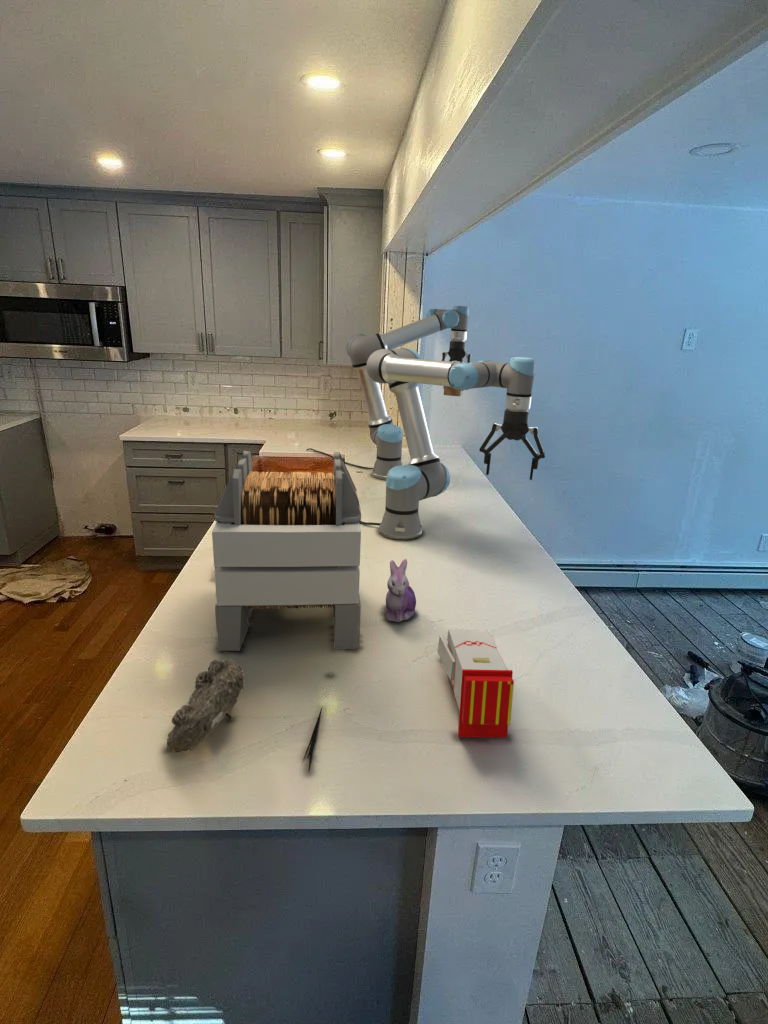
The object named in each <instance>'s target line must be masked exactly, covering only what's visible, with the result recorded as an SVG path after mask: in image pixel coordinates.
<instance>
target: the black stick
mask: <svg viewBox="0 0 768 1024" xmlns="http://www.w3.org/2000/svg"><path fill="white" fill-rule="evenodd" d="M329 675H330V676H331V675H332V674H331V673H330V674H329ZM322 710H323V707H321V708H320V710H319V713H318V716H317V719H316V723H315V725H314V728H313V731H312V733H311V737H310V739H309V742H308V745H307V748H306V751H305V754H304V757H303V760H302V763H301V767H302V765H303V763H304V761H305V758H308V759H309V760H308V762H307V763H308V764H307V766H308V771H310V770H311V766H312V765H311V764H312V760H313V757H315V756H314V755H315V751H316V749H315V746H317V739H318V733H319V729H320V722H321V717H322V712H323V711H322ZM313 754H314V755H313ZM306 755H307V757H306Z"/></svg>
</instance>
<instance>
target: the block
mask: <svg viewBox="0 0 768 1024" xmlns="http://www.w3.org/2000/svg"><path fill="white" fill-rule="evenodd" d="M443 388H444V389H443V396H449V397H462V395H463V393H464V390H463V391H462V390H458V389H455V388H454V387H448V386H443Z"/></svg>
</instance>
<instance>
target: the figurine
mask: <svg viewBox="0 0 768 1024" xmlns="http://www.w3.org/2000/svg"><path fill="white" fill-rule="evenodd" d="M407 567H408V559H406V558H404V559H403V560H402V561H401V563H400V565H399V566H398V565H397V563H396V562H395V561H394V560H393V559H391V560H390V561H389V570H390V576H389V578H388V579H387V589H388V591H387V592H386V594H385V595H386V596H385V607H384V615H385V616H386V620H387V621H391V622H395V623H400V622H402V621H406V620H409V619H410V618H411V617H413V616H414V615H415V610H416V606H417V597H416V593H415V591H414V590H413V587H411V586H410V582H409V579H408V577H407V574H406V571H407Z"/></svg>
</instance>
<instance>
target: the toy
mask: <svg viewBox="0 0 768 1024" xmlns="http://www.w3.org/2000/svg"><path fill="white" fill-rule="evenodd" d="M446 640H447V643H446V641H445V639H444V636H443V635H442V634H439V637H438V646H437V656H438V657H439V659H440V661H441V663H442V666H443V668H444V670H445V672H446V674H447V677H448V679H449V681H450V684H451V687H452V690H453V693H454V697H455V701H456V705H457V708H458V711H459V714H458V715H459V716H458V730H457V731H458V732H457V737H458V738H508V731H509V726H510V725H511V717H512V707H513V697H514V696H513V695H514V684H515V680H514V679H513V673H514V671H513V670H512V669H508V667H507V665H506V662H505V661H504V659H503V658H502V655H501V653H500V651H499V649H498V647H497V643H496V639H495V637H494V635H493V634H491V632H490V631H489V629H467V628H466V629H465V628H463V629H461V628H460V629H459V628H448V630H447V639H446Z"/></svg>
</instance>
